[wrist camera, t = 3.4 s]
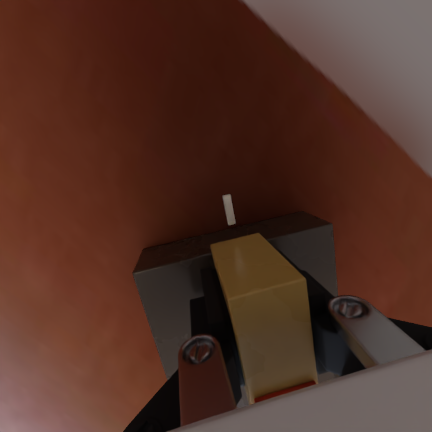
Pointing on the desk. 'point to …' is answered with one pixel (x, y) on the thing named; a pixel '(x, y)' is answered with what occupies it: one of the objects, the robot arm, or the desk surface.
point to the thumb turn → (266, 316)
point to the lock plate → (202, 258)
